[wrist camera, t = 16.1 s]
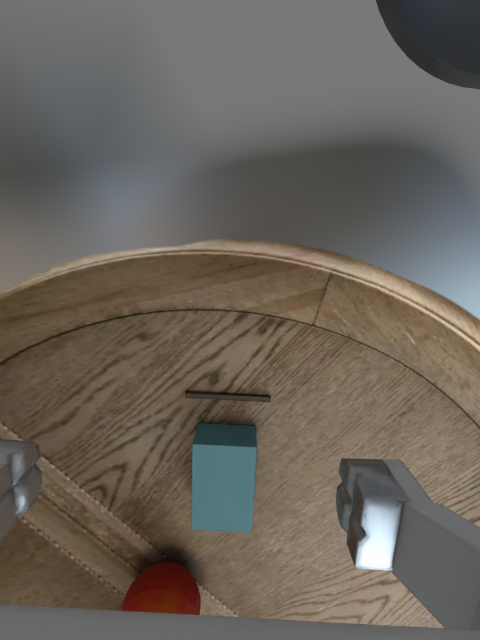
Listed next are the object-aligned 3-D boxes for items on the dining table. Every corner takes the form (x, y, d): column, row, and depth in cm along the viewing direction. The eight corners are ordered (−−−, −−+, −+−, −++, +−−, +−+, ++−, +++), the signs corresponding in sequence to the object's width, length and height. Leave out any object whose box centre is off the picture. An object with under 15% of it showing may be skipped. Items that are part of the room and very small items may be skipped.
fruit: (170, 533, 44) (149, 615, 34) (218, 579, 45) (211, 670, 36) (119, 571, 45) (84, 660, 36) (167, 614, 47) (146, 711, 37)
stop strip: (186, 391, 40) (185, 393, 39) (270, 395, 40) (270, 397, 39) (186, 395, 40) (185, 397, 39) (269, 400, 40) (270, 402, 39)
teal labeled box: (190, 530, 39) (196, 501, 43) (251, 533, 38) (251, 504, 43) (192, 444, 36) (198, 422, 41) (257, 447, 36) (255, 425, 41)
